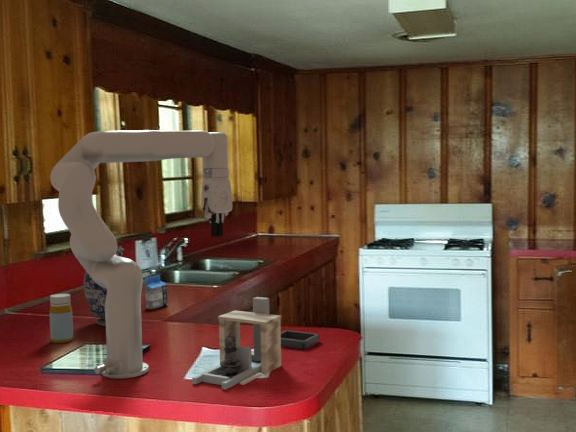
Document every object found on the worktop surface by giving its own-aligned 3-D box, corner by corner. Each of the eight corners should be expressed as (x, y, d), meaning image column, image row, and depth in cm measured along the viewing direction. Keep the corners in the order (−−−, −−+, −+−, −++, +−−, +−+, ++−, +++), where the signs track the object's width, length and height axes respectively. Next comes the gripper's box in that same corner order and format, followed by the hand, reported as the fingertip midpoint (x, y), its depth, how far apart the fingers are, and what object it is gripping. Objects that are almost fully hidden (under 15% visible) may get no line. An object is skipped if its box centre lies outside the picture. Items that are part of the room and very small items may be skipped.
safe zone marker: (243, 384, 175) (243, 383, 175) (198, 377, 182) (198, 375, 182) (262, 375, 183) (261, 373, 183) (218, 367, 190) (218, 366, 190)
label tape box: (153, 309, 267) (152, 278, 266) (145, 308, 269) (144, 277, 268) (168, 305, 275) (167, 275, 274) (160, 304, 277) (159, 274, 276)
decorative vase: (76, 320, 250) (74, 244, 247) (124, 314, 260) (123, 241, 258) (96, 332, 232) (94, 250, 230) (147, 325, 243) (146, 246, 241)
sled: (225, 389, 172) (223, 319, 170) (192, 383, 177) (190, 315, 175) (280, 360, 195) (279, 298, 194) (249, 356, 201) (248, 295, 199)
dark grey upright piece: (230, 371, 187) (229, 328, 186) (246, 375, 183) (245, 331, 182) (215, 377, 182) (214, 332, 181) (232, 381, 179) (231, 335, 178)
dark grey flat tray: (304, 349, 207) (304, 341, 206) (270, 345, 212) (270, 337, 212) (319, 341, 215) (319, 334, 215) (286, 337, 221) (286, 330, 221)
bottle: (67, 336, 227) (65, 292, 226) (77, 340, 222) (75, 295, 221) (47, 341, 222) (44, 295, 221) (56, 344, 217) (54, 298, 216)
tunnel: (266, 374, 184) (265, 322, 183) (219, 366, 191) (217, 316, 190) (282, 365, 191) (281, 315, 190) (235, 358, 199) (234, 310, 198)
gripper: (211, 175, 193) (212, 239, 195) (240, 173, 206) (241, 234, 208) (189, 175, 197) (191, 238, 199) (219, 173, 210) (221, 233, 212)
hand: (217, 236), depth 203 cm, fingers closed
